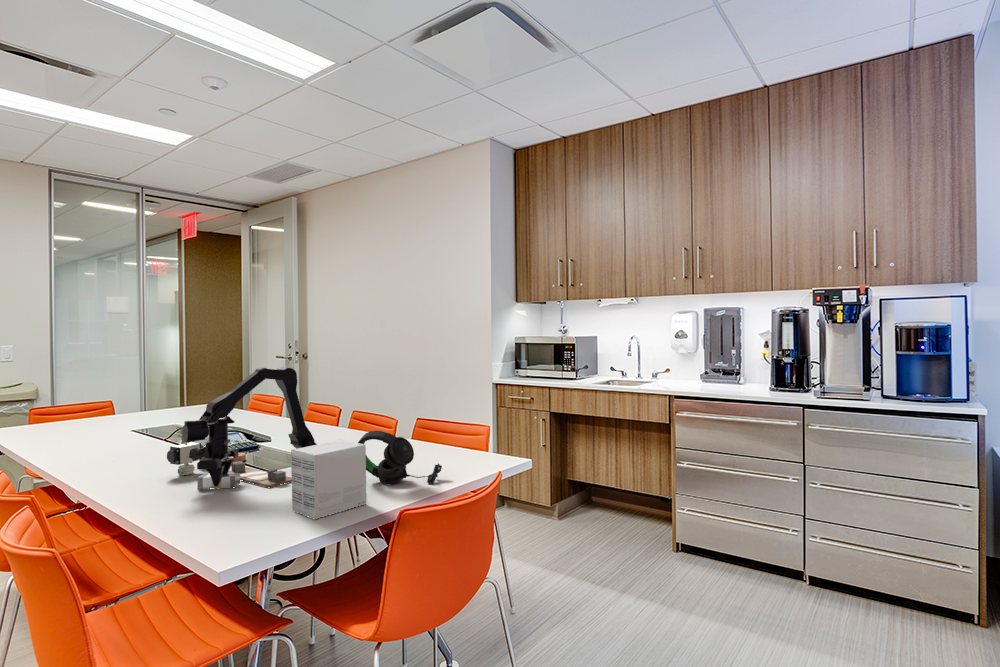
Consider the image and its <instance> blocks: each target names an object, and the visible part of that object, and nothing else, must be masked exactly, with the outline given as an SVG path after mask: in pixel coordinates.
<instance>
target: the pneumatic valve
mask: <svg viewBox="0 0 1000 667" xmlns="http://www.w3.org/2000/svg"><path fill="white" fill-rule="evenodd" d="M203 447H204V445H203V444H202V442H197V441H192V442H184V441H183V443H182V444H178V445H172V446H169V450H168V451H167V452H166V459H167V461H168V462H169V464H170V465H176V466H178V467H177V474H178V475H179V476H184V475H186V476H189V475H188V474H190V475H193V474H194V471H195V465H194V464H193V460H192V459H191V458H189V453H190V450H191V449H194V448H198V449H200V448H203ZM199 460H201V458H200V459H198V460H196V461H199ZM196 461H195V462H196ZM192 473H193V474H192Z"/></svg>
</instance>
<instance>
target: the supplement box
mask: <svg viewBox="0 0 1000 667" xmlns="http://www.w3.org/2000/svg"><path fill="white" fill-rule="evenodd" d="M316 444H317V443H316ZM366 452H367V448H366V444H365V443H364V444H360V443H358V442H355V441H349V440H345V439H337V440H333V441H327V442H324V443H319V444H317V445H313V446H308V447H303V448H298V449H296V448H293V449H291V450H290V464H291V465H290V468H291V469H290V470H291V471H290V472H291V478H292V482H291V507H292V508H291V509H292V510H293V511H295V512H294V513H296V512H298V513H297V514H299V513H300V514H299V515H301V514H303V515H302V516H304V515H306V516H309V517H311V518H310V519H312V518H314V519H317V518H319V519H321V518H320V517H323V516H326V517H328V516H327V515H329V516H331V515H330V514H333V515H335V514H334V513H336V514H338V513H337V512H339V513H341V512H340V511H343V512H345V511H344V510H346V511H348V510H347V509H349V510H352V509H351V508H353V509H355V508H354V507H356V508H359V507H362V506H365V504H366V505H367V470H366V455H367V453H366ZM361 505H362V506H361ZM358 506H359V507H358ZM292 510H291V511H292ZM293 511H292V512H293ZM306 516H305V517H306ZM309 517H308V518H309ZM323 518H324V517H323ZM314 519H313V520H314ZM317 520H318V519H317Z"/></svg>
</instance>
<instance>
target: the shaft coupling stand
mask: <svg viewBox="0 0 1000 667" xmlns="http://www.w3.org/2000/svg"><path fill="white" fill-rule="evenodd" d="M234 473H240V480H243V481H246V482H245V483H247V482H250V483H249V484H251V483H254V484H253V485H255V484H257V485H256V486H258V485H261V486H260V487H262V486H265V487H264V488H266V487H272V488H274V487H273V486H276V487H278V486H277V485H279V486H281V485H280V484H283V485H285V484H284V483H287V484H289V483H288V482H291V483H292V476H291V477H290V476H287V474H286V471H284V470H278V469H277V468H276V469H275V468H274V469H270V470H267V471H265V470H261V469H257V468H252V467H248V466H246V463H245V462H241V461H239V462H233V463H232V465H231V470H229V472H228V474H234ZM243 481H242V482H243Z"/></svg>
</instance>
